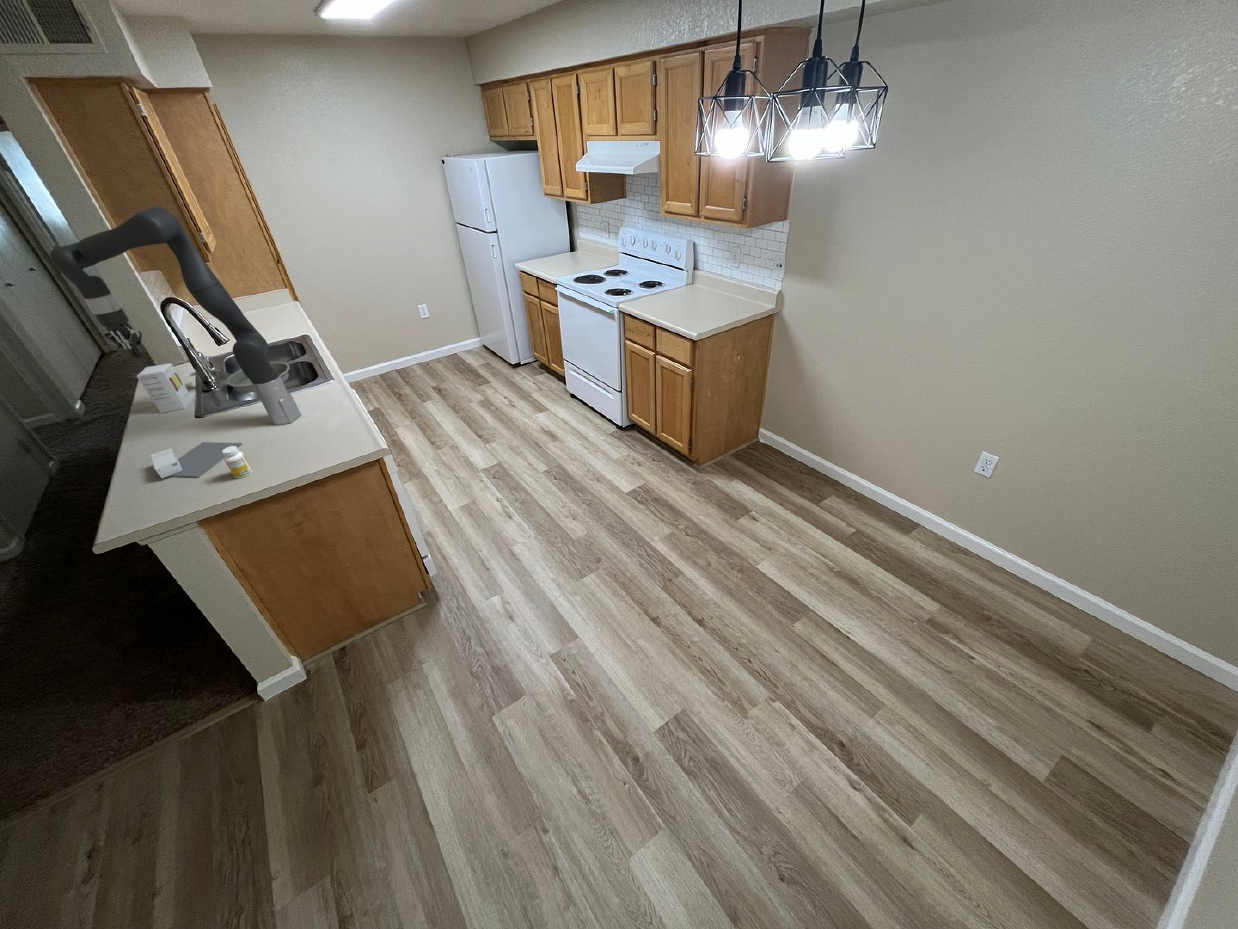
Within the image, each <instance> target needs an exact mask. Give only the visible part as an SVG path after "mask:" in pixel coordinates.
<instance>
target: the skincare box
mask: <svg viewBox="0 0 1238 929" xmlns="http://www.w3.org/2000/svg"><path fill="white" fill-rule="evenodd" d="M150 459H151V462H152V466H153V468H154V470H155V471H156V474H157V473H158V474H159V475H160V476H159V477H160V479H162V480H163V479H164V478H168V476H170V475H173V474H176V473H178V472H181V471H183V470H182V468H181V466H180V463H179V461H178V459H179V458H178V457H177V455H176V454H175V452H174V451H173V449H172V448H171V447H170V448H167V449H164V450H161V451H157V452H156V453H153V454H150Z"/></svg>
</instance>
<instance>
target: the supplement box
mask: <svg viewBox="0 0 1238 929" xmlns="http://www.w3.org/2000/svg"><path fill="white" fill-rule="evenodd" d="M180 377H181V376H180V375H179V374H178V373H177V371H176V369H175V367H174V365H173V364H172V363H164V364H159V365H152V366H145V368H144V369H143V370H141V372H139V373H138V374H137V375H136V378H137V379H138V381H139V382H140V384H141V386H143V388H144V390H145V391H146V393H147V394H148V396H149V398H150V399H151V401H152V402H153V404H154V405H155V406H156V408H157V409H158V410H159V412H160V413H161V414H164V413H169V412H170V413H171V412H173V411H174V412H175V411H176V412H177V411H180V410H186V409H187V408H188V406H189V405H190V404H191V403H192V402H193V400H194V398H193V397H192V395H191V393H190V392H189V390H188V388H187V387H186V385H185V384H184V382H183V380H182V378H180Z"/></svg>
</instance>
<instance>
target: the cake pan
mask: <svg viewBox="0 0 1238 929" xmlns="http://www.w3.org/2000/svg"><path fill="white" fill-rule="evenodd" d="M269 363H270V365H271V367H274V368H276V369H277V371H278V373H279V375H280V377H281V379H282V381H283V383H284V382H286V381H287V380H288V379H289V376H290V375H289V374H290V373H289V370H290V365H289V364H288V363H287V362H281V361H269ZM225 382H226V383H227V384H228V386H231V387H232V388H233V389H234V390H235V391H236V392H238V393H243V394H251V393H257V392H256V390H255V388H254V386H253V384H252V383H251V381H250V379H249V378H248V377H247V376H246V375H245V374H244V373H243V371H242V369H239V370H237V371H236V372H234V373H232V374H230V375H229V376H228V377H227V379H226V381H225Z"/></svg>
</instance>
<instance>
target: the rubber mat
mask: <svg viewBox="0 0 1238 929" xmlns="http://www.w3.org/2000/svg"><path fill="white" fill-rule="evenodd" d="M242 445H243V443H242V442H221V441H219V442H217V441H216V442H213V441H212V442H210V441H202V442H200V443H198V444H197V445H196V446H195V447H194V448H192V449H189V451H187V452H186V453H184V454H183V455H182V456H180V457H179V458H178V461H179V463H180V466H181V468H182V470H183V471H181V472H178V473H176V474H173V475H170V476H168V477H169V478H191V479H192V478H193V479H196V478H197V479H198V478H200V477H201V476H203V475H204V474H205V473H206V472H208V471H210V470H211V469H213V467H214V466H216V465H217V464H218V463H220V462H221V461H223V460H224V457H225V456H224V454H223V452H222V451H223V450H224V449H225V448H227V447H230V446H236V447H237V449H239V447H241V446H242ZM155 477H160V475H159V474H158V473H157V472H156V474H155ZM168 477H167V478H168Z"/></svg>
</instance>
